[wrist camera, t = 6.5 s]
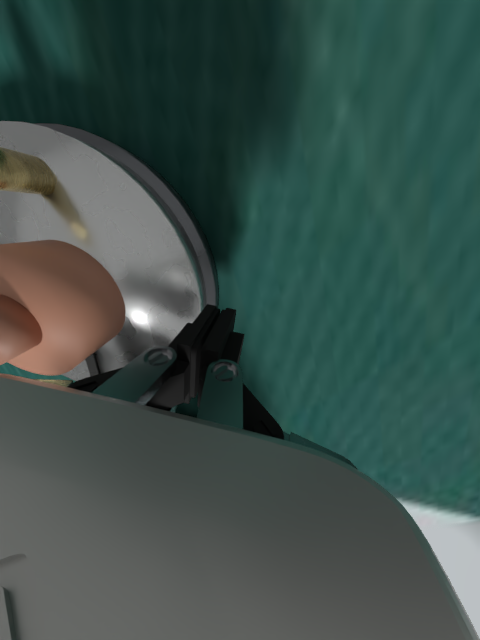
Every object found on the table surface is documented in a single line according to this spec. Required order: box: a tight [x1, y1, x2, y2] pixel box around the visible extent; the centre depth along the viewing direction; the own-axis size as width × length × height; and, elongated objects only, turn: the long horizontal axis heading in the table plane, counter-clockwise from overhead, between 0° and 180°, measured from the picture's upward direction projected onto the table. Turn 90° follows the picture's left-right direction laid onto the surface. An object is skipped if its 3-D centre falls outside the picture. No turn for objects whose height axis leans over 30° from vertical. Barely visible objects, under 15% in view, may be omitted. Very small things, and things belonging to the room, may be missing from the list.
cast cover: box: [0, 240, 126, 375], centre depth 11 cm, size 7×7×5 cm
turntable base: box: [35, 123, 219, 309], centre depth 15 cm, size 18×18×1 cm
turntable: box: [0, 121, 207, 381], centre depth 12 cm, size 17×17×6 cm
